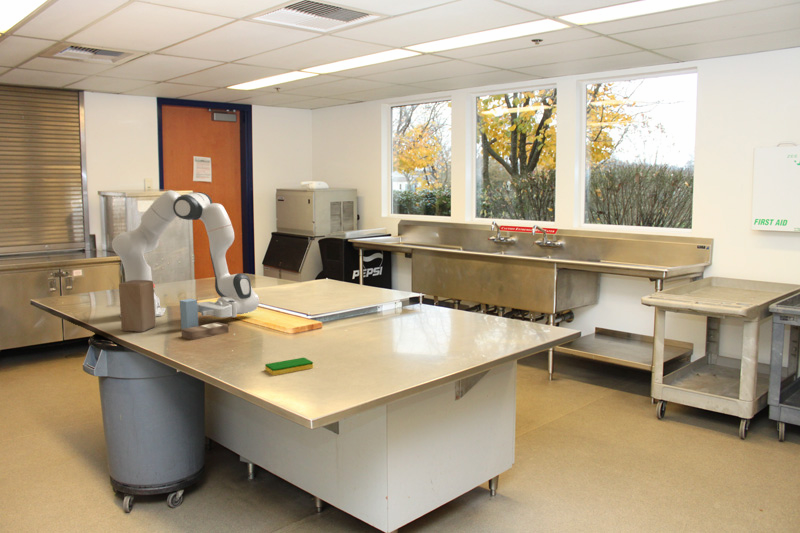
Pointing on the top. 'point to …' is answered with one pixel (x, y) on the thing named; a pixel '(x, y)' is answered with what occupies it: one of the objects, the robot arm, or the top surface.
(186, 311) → the post
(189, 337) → the plinth
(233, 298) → the robot arm
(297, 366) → the dish sponge
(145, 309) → the block
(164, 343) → the top surface
